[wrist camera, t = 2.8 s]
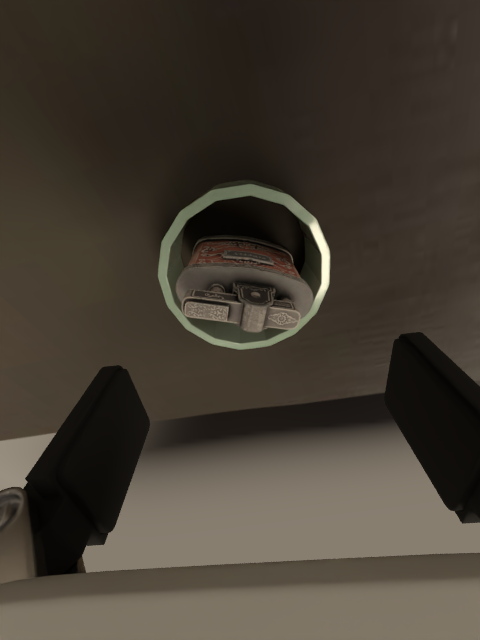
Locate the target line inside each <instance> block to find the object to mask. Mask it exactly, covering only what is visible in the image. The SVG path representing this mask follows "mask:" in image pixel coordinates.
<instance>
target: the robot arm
mask: <svg viewBox="0 0 480 640" xmlns="http://www.w3.org/2000/svg"><path fill="white" fill-rule="evenodd" d="M385 404H386V406H387V408H388V410H389V412H390V413H391V415H392V416H393V418H394V420H395V422H396V423H397V425H398V427H399V428H400V430H401V432H402V433H403V435H404V437H405V438H406V440H407V442H408V443H409V445H410V447H411V449H412V450H413V452H414V454H415V455H416V457H417V459H418V460H419V462H420V463H421V465H422V467H423V469H424V470H425V472H426V474H427V475H428V477H429V479H430V480H431V482H432V484H433V485H434V487H435V489H436V490H437V492H438V494H439V496H440V497H441V499H442V501H443V502H444V504H445V505H446V507H447V508H448V509H449V510H451V511H455V513H456V514H457V516H458V517H459V519H460V521H461V522H462V523H477V522H480V386H479V385H477V384H476V383H475V382H474V381H473V380H472V379H471V378H470V377H469V376H468V375H467V374H466V373H465V372H464V371H462V370H461V369H460V368H459V367H458V366H457V365H456V364H455V363H454V362H453V361H452V360H451V359H450V358H449V357H448V356H446V355H445V354H444V353H443V352H442V351H441V350H440V349H439V348H438V347H437V346H436V345H435V344H434V343H433V342H431V341H430V340H429V339H428V338H427V337H426V336H425V335H424V334H423V333H421V332H416V333H407V334H401V335H400V336H399V339H395V341H394V344H393V349H392V355H391V361H390V367H389V373H388V379H387V385H386V391H385ZM149 426H150V422H149V418H148V416H147V413H146V411H145V409H144V407H143V404H142V402H141V400H140V398H139V395H138V393H137V391H136V389H135V386H134V384H133V382H132V380H131V378H130V375H129V373H128V371H127V370H126V369H123V368H122V367H121V366H119V365H117V366H108V367H103V368H101V370H100V371H99V372H98V374H97V375H96V377H95V378H94V380H93V381H92V382H91V384H90V385H89V387H88V388H87V390H86V391H85V393H84V394H83V396H82V397H81V398H80V400H79V401H78V403H77V404H76V406H75V407H74V409H73V410H72V412H71V413H70V414H69V416H68V417H67V419H66V420H65V422H64V423H63V425H62V426H61V428H60V429H59V430H58V432H57V433H56V435H55V436H54V438H53V439H52V441H51V442H50V444H49V445H48V447H47V448H46V450H45V451H44V452H43V454H42V455H41V457H40V458H39V460H38V461H37V462H36V464H35V465H34V467H33V468H32V470H31V471H30V473H29V474H28V476H27V477H26V478H25V479H26V480H27V482H28V483H27V484H26V486H25V487H24V489H22V488H20V487H11V488H7V489H4V490H1V491H0V640H480V553H459V554H429V555H408V556H387V557H365V558H344V559H323V560H303V561H283V562H264V563H246V564H226V565H207V566H191V567H190V566H189V567H172V568H155V569H137V570H119V571H105V572H104V571H103V572H90V573H86V571H85V566H84V562H83V558H82V554H83V552H84V550H85V547H86V545H87V546H91V545H104V544H105V541H106V538H107V535H108V533H109V532H111V531H112V530H113V529H114V527H115V525H116V522H117V519H118V516H119V513H120V510H121V508H122V505H123V502H124V499H125V496H126V493H127V490H128V487H129V485H130V482H131V479H132V476H133V473H134V470H135V467H136V465H137V462H138V459H139V456H140V453H141V450H142V448H143V445H144V442H145V439H146V436H147V433H148V431H149Z"/></svg>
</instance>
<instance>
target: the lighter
mask: <svg viewBox="0 0 480 640" xmlns="http://www.w3.org/2000/svg"><path fill="white" fill-rule="evenodd" d="M192 255H193V256H192V258H191V260H190V262H189V264H188V266H187V267H185V268H184V269H183V270H182V272H181V274H180V275H179V277H178V279H177V283H176V294H177V296H178V298H179V300H180V302H181V303H182V313H183V314H184V315H185V316H186V317H190V318H198V319H206V320H214V321H222V322H230V323H235V325H237V326H239V327H240V328H241V329H242V330H244V331H247V332H254V333H258V332H261V331H263V330H264V329H267V327H270V328H278V329H287V330H292V329H295V328H296V327H297V326H298V324H299V322H300V319H302V318H303V317H305V316H306V315H307V314H308V313H309V311H310V309H311V307H312V305H313V299H314V298H313V293H312V290H311V289H310V287H309V285H308V284H307V282H306V281H304V280H303V279H301V277H300V275H299V274H298V272H297V270H296V268H295V266H294V264H293V258H292V256H291V254H290V253H289V251H288V250H287V249H286V248H284V247H281V246H279V245H276V244H273V243H270V242H268V241H264V240H259V239H255V238H251V237H245V236H232V235H215V236H204V237H202V238H200V239H199V240H198V241H197V243H196V244H195V246H194V248H193V253H192Z"/></svg>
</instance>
